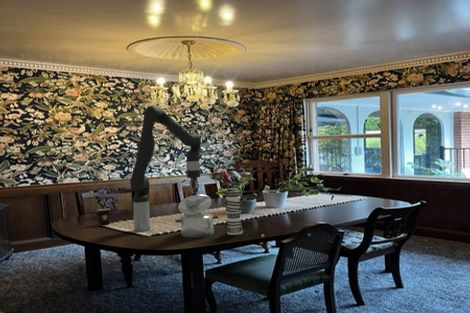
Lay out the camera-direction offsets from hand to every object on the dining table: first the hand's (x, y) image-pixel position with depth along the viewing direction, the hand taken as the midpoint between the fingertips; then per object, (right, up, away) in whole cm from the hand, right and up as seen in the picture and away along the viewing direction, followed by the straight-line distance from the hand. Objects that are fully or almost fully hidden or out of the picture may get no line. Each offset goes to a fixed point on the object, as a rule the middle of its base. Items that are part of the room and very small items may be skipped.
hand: (194, 199), depth 247 cm
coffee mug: (-65, -21, +43) cm, 80 cm away
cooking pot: (+2, -19, -3) cm, 19 cm away
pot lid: (0, -4, -1) cm, 4 cm away
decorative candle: (+23, -18, -5) cm, 30 cm away
